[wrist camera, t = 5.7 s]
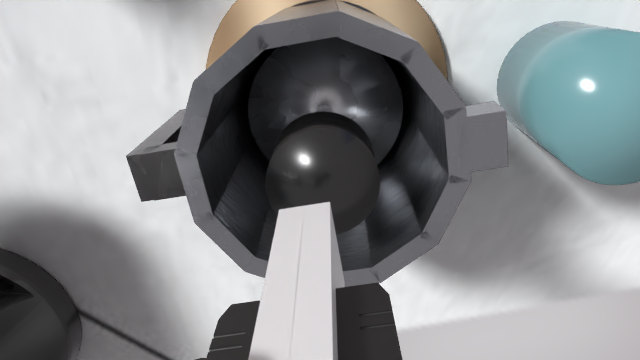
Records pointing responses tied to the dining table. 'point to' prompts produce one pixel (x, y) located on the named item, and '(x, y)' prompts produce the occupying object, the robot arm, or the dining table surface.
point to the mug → (578, 97)
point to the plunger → (325, 126)
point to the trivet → (389, 3)
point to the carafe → (251, 164)
